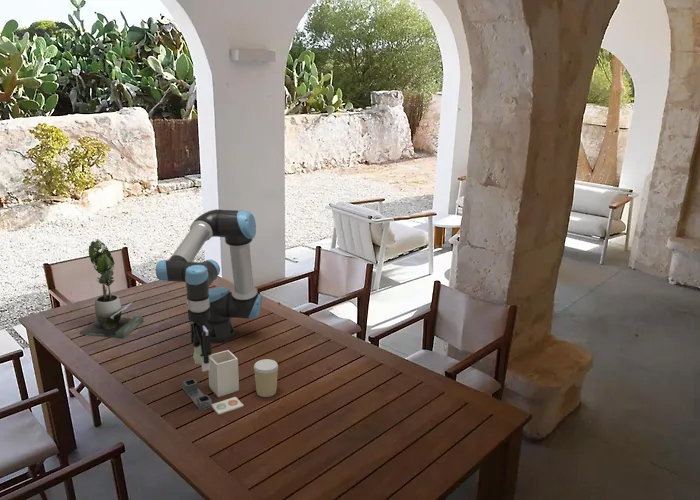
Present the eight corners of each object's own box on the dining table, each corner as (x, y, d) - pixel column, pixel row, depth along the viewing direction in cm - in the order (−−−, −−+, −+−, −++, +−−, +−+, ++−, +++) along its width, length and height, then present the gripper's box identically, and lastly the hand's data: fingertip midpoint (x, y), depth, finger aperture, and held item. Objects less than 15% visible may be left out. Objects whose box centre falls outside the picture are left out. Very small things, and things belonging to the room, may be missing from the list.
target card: (235, 397, 220) (235, 396, 220) (243, 406, 215) (243, 404, 215) (211, 406, 215) (210, 404, 215) (218, 414, 209) (218, 413, 209)
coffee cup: (282, 388, 228) (282, 361, 224) (271, 400, 220) (271, 372, 216) (261, 383, 231) (260, 357, 227) (250, 395, 222) (249, 367, 219)
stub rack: (194, 384, 229) (193, 377, 228) (213, 406, 214) (212, 399, 213) (182, 388, 226) (181, 381, 225) (200, 411, 212) (200, 403, 211)
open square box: (229, 380, 232) (228, 349, 228) (238, 390, 226) (237, 358, 221) (209, 387, 227) (207, 355, 223) (218, 397, 221) (216, 364, 216)
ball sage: (206, 357, 214) (205, 343, 212) (213, 364, 209) (212, 349, 207) (191, 361, 210) (190, 347, 208) (197, 368, 206) (196, 354, 204)
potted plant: (143, 321, 283) (135, 234, 270) (123, 338, 265) (114, 246, 252) (102, 318, 286) (92, 231, 273) (80, 334, 268) (68, 242, 255)
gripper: (178, 301, 208) (183, 358, 215) (198, 320, 194) (202, 380, 201) (198, 297, 212) (202, 353, 220) (219, 315, 198) (222, 374, 205)
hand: (202, 366), depth 210 cm, fingers closed on ball sage, 6 cm apart
